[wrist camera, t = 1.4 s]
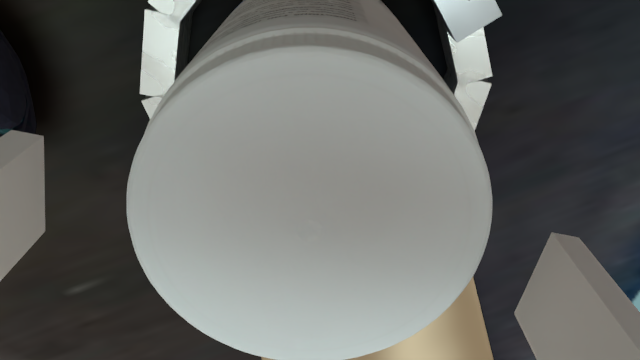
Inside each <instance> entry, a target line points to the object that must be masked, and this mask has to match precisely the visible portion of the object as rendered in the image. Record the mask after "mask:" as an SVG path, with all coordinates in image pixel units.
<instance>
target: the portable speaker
mask: <svg viewBox="0 0 640 360" xmlns="http://www.w3.org/2000/svg"><path fill="white" fill-rule="evenodd" d="M36 126H37V123H36V118H35V112H34V107H33V102H32V97H31V93H30V88H29V84H28V80H27V75H26V73H25V71H24V68H23V66H22V64H21V61H20V59H19V57H18V55H17V54H16V52H15V51H14V49H13V48H12V46H11V45H10V43H9V42H8V40H7V39H6V37H5V36H4V34H3V33H2V32H1V30H0V137H1V136H3V135H4V134H6V133H7V132H9V131H10V130H15V131H20V132H26V133H31V134H35V132H36Z"/></svg>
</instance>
